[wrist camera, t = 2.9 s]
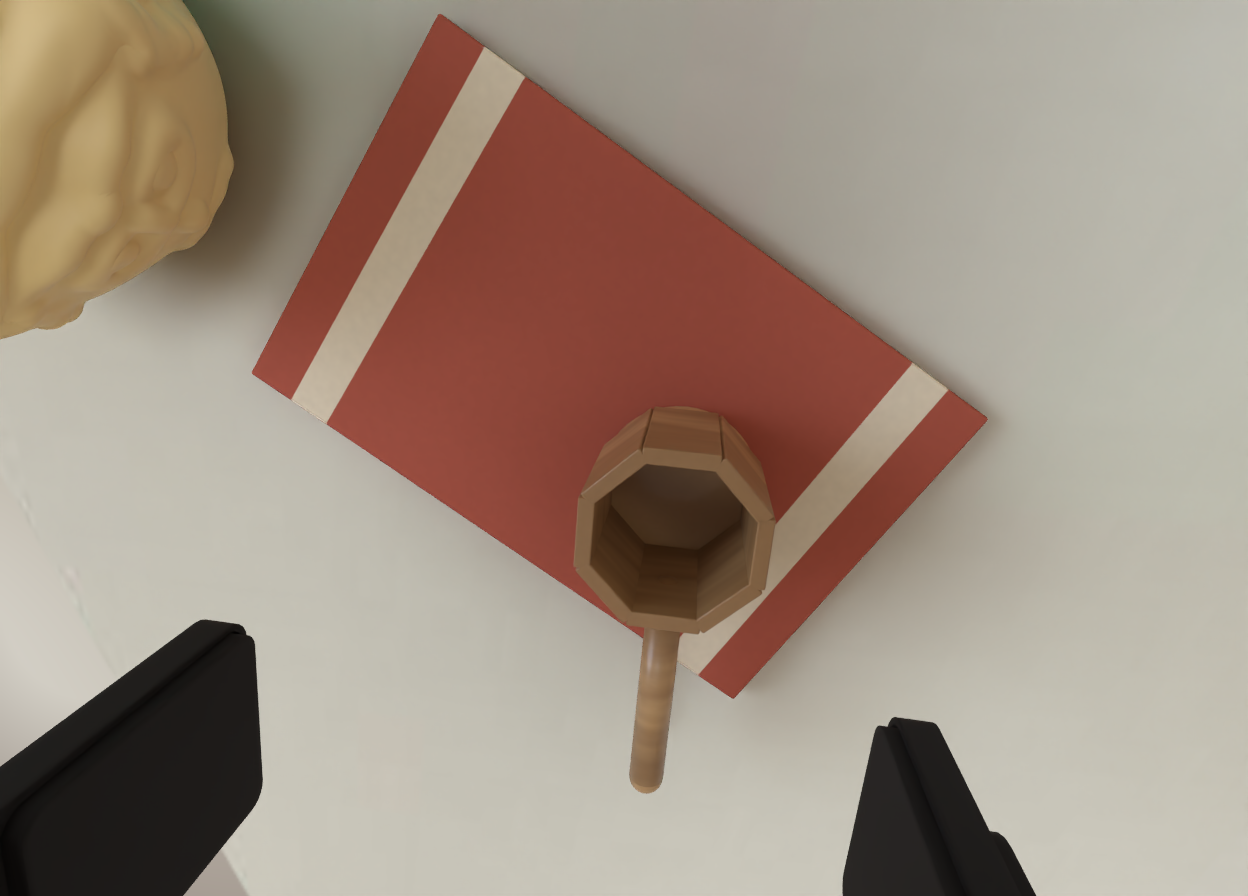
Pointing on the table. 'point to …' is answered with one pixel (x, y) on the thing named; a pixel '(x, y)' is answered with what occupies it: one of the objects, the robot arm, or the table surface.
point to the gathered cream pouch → (101, 149)
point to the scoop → (672, 547)
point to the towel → (590, 342)
